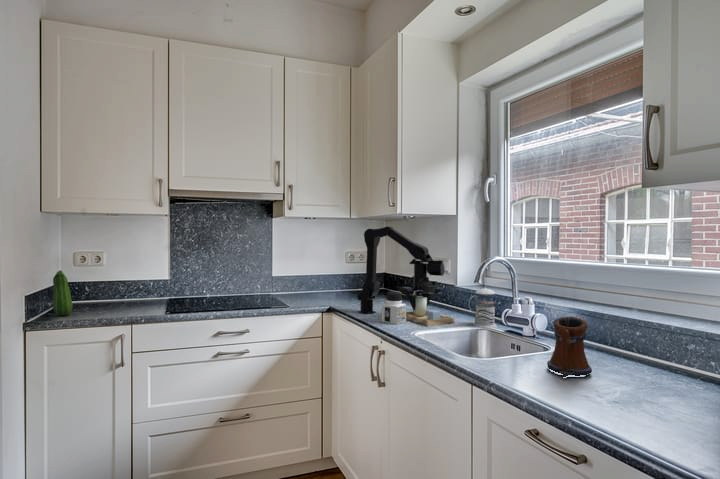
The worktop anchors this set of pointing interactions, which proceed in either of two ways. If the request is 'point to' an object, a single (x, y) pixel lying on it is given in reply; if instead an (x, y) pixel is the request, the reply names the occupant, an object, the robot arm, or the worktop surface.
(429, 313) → the block
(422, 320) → the tray
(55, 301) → the vegetable
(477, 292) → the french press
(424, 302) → the cup
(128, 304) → the worktop surface
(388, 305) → the container
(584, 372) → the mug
